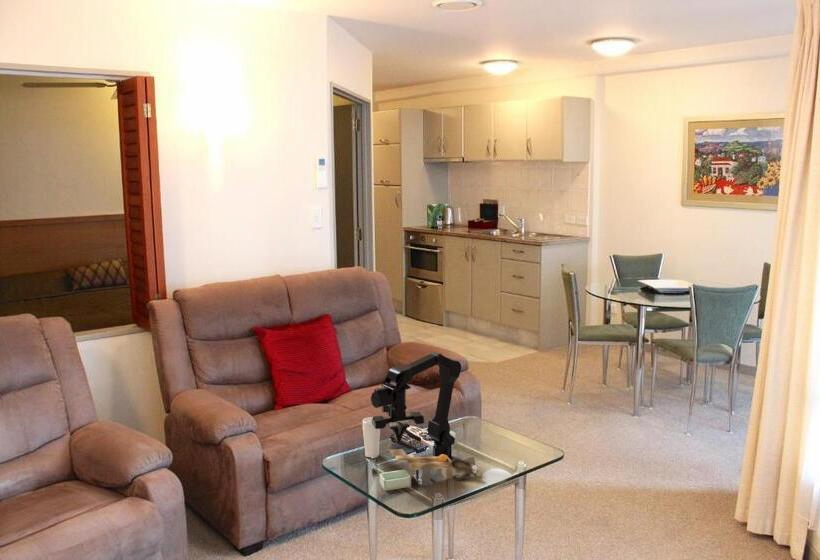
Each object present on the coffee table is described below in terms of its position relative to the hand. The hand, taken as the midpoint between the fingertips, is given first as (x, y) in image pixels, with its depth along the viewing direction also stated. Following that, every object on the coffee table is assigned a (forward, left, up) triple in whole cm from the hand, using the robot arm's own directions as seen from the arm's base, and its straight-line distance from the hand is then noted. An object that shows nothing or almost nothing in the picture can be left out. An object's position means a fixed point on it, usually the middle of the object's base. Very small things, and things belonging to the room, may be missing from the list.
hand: (398, 441), depth 271 cm
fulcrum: (-11, +8, -12) cm, 18 cm away
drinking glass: (+6, -18, -13) cm, 22 cm away
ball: (-14, +8, -5) cm, 18 cm away
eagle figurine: (-22, +11, -13) cm, 28 cm away
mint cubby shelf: (+4, +8, -12) cm, 15 cm away
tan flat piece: (-7, +5, -7) cm, 11 cm away
